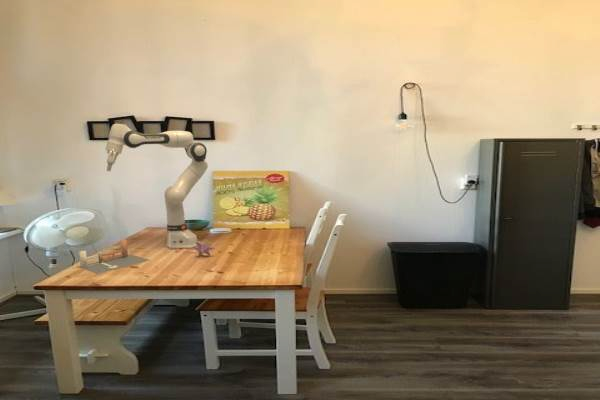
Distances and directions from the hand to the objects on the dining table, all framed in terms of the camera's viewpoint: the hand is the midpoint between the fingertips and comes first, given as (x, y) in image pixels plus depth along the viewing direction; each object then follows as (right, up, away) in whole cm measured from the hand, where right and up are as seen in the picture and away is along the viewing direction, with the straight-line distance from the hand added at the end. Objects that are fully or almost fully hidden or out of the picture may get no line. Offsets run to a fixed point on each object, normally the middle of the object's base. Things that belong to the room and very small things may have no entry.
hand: (108, 171), depth 230 cm
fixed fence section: (+1, -53, -20) cm, 57 cm away
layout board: (+13, -53, -18) cm, 58 cm away
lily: (+59, -51, -6) cm, 79 cm away
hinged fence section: (+9, -51, -10) cm, 53 cm away
